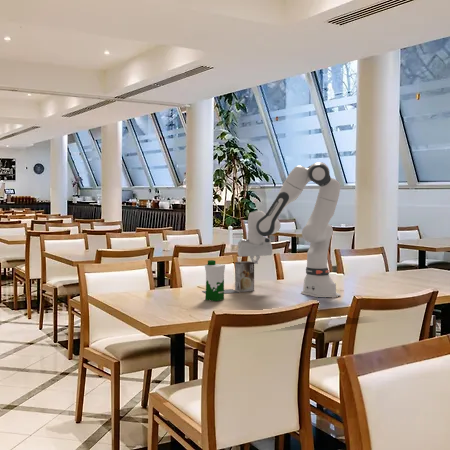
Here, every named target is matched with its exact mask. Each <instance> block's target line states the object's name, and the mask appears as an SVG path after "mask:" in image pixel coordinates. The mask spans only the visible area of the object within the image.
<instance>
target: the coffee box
mask: <svg viewBox="0 0 450 450" xmlns="http://www.w3.org/2000/svg"><path fill="white" fill-rule="evenodd" d="M234 290H235V291H238V292H239V293H244V292H253V291H254V292H255V264H254V262H252V261H248V260H247V261H235V262H234Z"/></svg>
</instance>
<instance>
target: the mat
mask: <svg viewBox="0 0 450 450" xmlns="http://www.w3.org/2000/svg"><path fill="white" fill-rule="evenodd" d="M201 292H202V293H204V294H206V290H202V291H201ZM239 293H240V292H239V291H236V290H235V289H232V288H228V289H227V288H226V289H224V295H225V294H239Z"/></svg>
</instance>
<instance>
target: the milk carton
mask: <svg viewBox="0 0 450 450" xmlns="http://www.w3.org/2000/svg"><path fill="white" fill-rule="evenodd" d="M225 269H226V264H218V263H216V260H215V259H214V260H213V259H211V260H210V259H209V260H207V264H205V265H204V270H205V291H206V293H205V301H209V300H211V302H220V301H223V300H225V294H224V290H225Z"/></svg>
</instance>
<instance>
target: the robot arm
mask: <svg viewBox="0 0 450 450" xmlns="http://www.w3.org/2000/svg"><path fill="white" fill-rule="evenodd" d="M309 182H312V183H314V184H316V185H318V186H319V189H318V190H319V191H318V194H317V197H316V200H315V204H314V207H313V210H312V212H311V214H310V216H309V218H308V220H307V222H306V224H305V225H304V227H303V228H302V230H301V237H302V238H303V240H304V241H305V242H308V243H310V245H309V248H308V250H307V253H306V254H307V255H306V268H305V277H304V279H303V288H302V291H301V292H300V293H301V294H302V295H306V296H309V297H314V298H318V297H332V298H337V297H336V296H340V297H341V293H338V292H337V284H336V283H335V281H333V279H332V278H331V277H330V269H329V268H328V253H329V248H330V242H331V238H332V236H333V234H334V230H333V227H332V225H331V224H329V223H330V221H331V219H332V218H333V216H335V215H334V214H335V211H336V208H337V206H338V205H337V204H338V201H339V197H340V192H341V183H340V182H339V181H338V180H337V179H335V178H332V177H331V174H330V169H329V166H328V165H327V164H326V163H325V162H321V161H318V162H315V163H313V164H311V165H309V166H308V167H305V166H302V165H296V166H294V168H293V169H292V170H291V171H290V172H289V173H288V175H287V177H286V179H285V180H284V182H283V184H282V186H281V187H280V189H279V192H278V193H277V196H276V198H275V199H274V201H273V203H272V204H271V206H270V207H269V209H268V210H267V212H266V213H265V212H264V211H262V210H253V211H251V212H249V214H248V217H247V218H248V219H247V228H248V229H247V239H240V240H239V241H238V242H237V247H238V249H237V255H238V257H249V258H250V260H251V262H254V265H258V264H259V261H260V258H261V256H262V257H263V256H272V255H273V245H272V239H271V238H269V236H272V235H274V234H276V233H277V232H279V231H280V228H281V222H280V220H279V219H278V218H279V216H280V215H281V214H282V211H283V210H284V209H285V207H287V206H289V205H290V204H291V203H292V202H295V201H296V200H297V199H298V198H299V197H300V196H301V194H302V192H303V191H304V189H305V187H306V186H307V184H308V183H309ZM255 257H256V258H255ZM254 258H255V259H254Z"/></svg>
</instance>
